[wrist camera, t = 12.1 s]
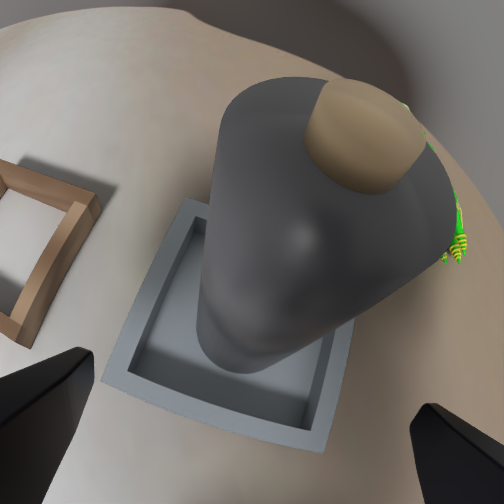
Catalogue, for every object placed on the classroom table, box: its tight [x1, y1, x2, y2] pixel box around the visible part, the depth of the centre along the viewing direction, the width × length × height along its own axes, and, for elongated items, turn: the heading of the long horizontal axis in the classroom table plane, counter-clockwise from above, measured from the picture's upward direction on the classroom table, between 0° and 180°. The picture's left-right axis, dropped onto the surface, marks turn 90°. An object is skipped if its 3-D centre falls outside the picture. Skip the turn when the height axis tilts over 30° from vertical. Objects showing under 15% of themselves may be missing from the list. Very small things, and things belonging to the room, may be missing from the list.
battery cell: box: [196, 77, 457, 374], centre depth 11 cm, size 5×5×14 cm
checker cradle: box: [0, 159, 102, 349], centre depth 16 cm, size 10×10×2 cm
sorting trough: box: [101, 197, 355, 454], centre depth 17 cm, size 11×11×2 cm
